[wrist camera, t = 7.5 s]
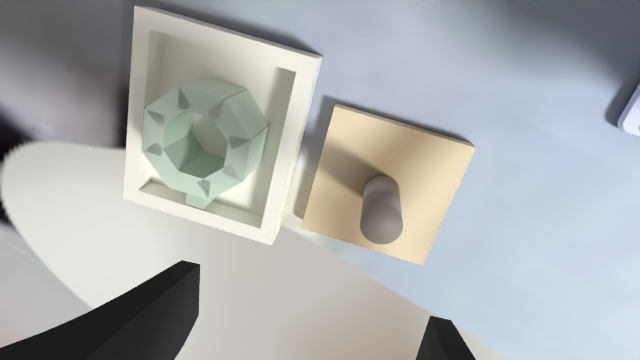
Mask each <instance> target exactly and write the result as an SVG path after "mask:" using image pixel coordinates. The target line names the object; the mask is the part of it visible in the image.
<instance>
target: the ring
mask: <svg viewBox="0 0 640 360" xmlns="http://www.w3.org/2000/svg"><path fill="white" fill-rule="evenodd" d="M195 113H197V114H200V115H203V116H207V117H210V118H212V119H213V120H214V122H215V123H216V125H217V126H218V128H219V129H220V131H221V132H222V134H223V135H224V137H225V138H226V140H227V142H228V146H227V152H226V158H222V157H219V156H216V155H213V154H209V153H206V152H205V151H204V149H203V148H202V146H201V145H200V144H199V142H198V141H197V139H196V138H195V136H194V135H193V133H192V129H193V122H194V114H195ZM268 130H269V123H268V121H267V120H266V118H265V116H264V115H263V113H262V111H261V110H260V108H259V106H258V105H257V103H256V102H255V100H254V98H253V97H252V95H251V93H250V92H249V90H248V89H247V88H244V87H241V86H237V85H234V84H230V83H227V82H224V81H220V80H217V79H213V78H210V77H207V78H204V79H200V80H196V81H193V82H189V83H186V84H182V85H178V86H177V87H175V88H174V89H172V90H171V91H169V92H168V93H166V94H165V95H163V96H162V97H160V98H159V99H158V100H156V101H155V102H153V103H152V104H150V105H149V106H147V107H146V109H144V122H143V136H142V149H141V150H143V151H142V152H143V154H144V155H145V156H146V158H147V159H148V161H149V162H150V163H151V165H152V166H153V168H154V169H155V170H156V172H157V173H158V174H159V176H160V177H161V179H162V180H163V181H164V183H165V184H166V186H167V187H168V186H169V188H171V189H174V190H178V191H181V192H184V193H187V195H186V203H185V204H189V205H192V206H195V207H198V208H201V209H204V208H205V207H206V206H207V205H208V204H209V203H210V202H211V201H212V200H213V199H214V198H215V197H216V196H217V195H219V194H221V193H223V192H225V191H227V190H229V189H230V188H232V187H234V186H236V185H238V184H240V183H242V182H243V181H244V180H245V179H246V178H247V177H248V175H249V174H250V173H251V172H252V171H253V170H254V169H255V168H256V167H257V166H258V165H259V163H260V162H261V161H262V158H263V153H264V149H265V144H266V139H267V134H268Z"/></svg>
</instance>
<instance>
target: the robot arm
mask: <svg viewBox="0 0 640 360" xmlns="http://www.w3.org/2000/svg"><path fill="white" fill-rule="evenodd" d="M617 124H618V128H619V129H620V130H621V131H623V132H625V133H627V134H631V135H634V136H638V137H640V130H639V126H640V83H639V85H638V87H637V89H636V90H635V92H634V94H633V95H632V97H631V99H630V100H629V102H628V104H627V106H626V107H625V109H624V111H623V112H622V114H621V116H620V117H619V120H618V122H617ZM199 283H200V264H196V263H191V262H186V261H180V262H178V263H176V264H174V265H173V266H171V267H169V268H167V269H166V270H164V271H162V272H161V273H159V274H157V275H156V276H154V277H152V278H151V279H149V280H147V281H145V282H144V283H142V284H140V285H138V286H137V287H135V288H133V289H131V290H130V291H128V292H126V293H124V294H123V295H121V296H119V297H117V298H115V299H113V300H111V301H109V302H107V303H105V304H103V305H101V306H100V307H97V308H95V309H93V310H92V311H90V312H88V313H86V314H83V315H81V316H79V317H77V318H75V319H73V320H70V321H68V322H66V323H64V324H61V325H59V326H57V327H54V328H52V329H50V330H47V331H45V332H42V333H40V334H37V335H34V336H32V337H29V338H26V339H24V340H21V341H18V342H15V343H13V344H10V345H7V346H4V347H2V348H0V360H174V359H175V358H176V356H177V355H178V353H179V351H180V350H181V348H182V347H183V345H184V343H185V341H186V339H187V337H188V335H189V334H190V332H191V330H192V327H193V326H194V323H195V321H196V319H197V317H198V313H199ZM416 360H476V359H475V358H474V356H473V354H472V353H471V351H470V350H469V348H468V347H467V345H466V343H465V342H464V340H463V338H462V337H461V335H460V334H459V332H458V330H457V329H456V327H455V326H454V324H453V323H452V321H451V320H447V319H443V318H438V317H434V316H430V318H429V322H428V324H427V327H426V331H425V334H424V336H423V339H422V342H421V345H420V348H419V351H418V354H417V357H416Z"/></svg>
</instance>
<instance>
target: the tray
mask: <svg viewBox="0 0 640 360" xmlns="http://www.w3.org/2000/svg"><path fill="white" fill-rule="evenodd" d="M323 57H324V56H321V55H317V54H314V53H310V52H307V51H304V50H300V49H297V48H293V47H290V46H286V45H283V44H279V43H276V42H272V41H269V40H266V39H262V38H259V37H255V36H252V35H248V34H245V33H241V32H238V31H235V30H231V29H228V28H224V27H221V26H217V25H214V24H210V23H207V22H203V21H200V20H197V19H193V18H190V17H186V16H183V15H179V14H176V13H172V12H169V11H166V10H162V9H159V8H153V7H142V6H134V21H133V38H132V55H131V72H130V90H129V107H128V124H127V141H126V159H125V177H124V192H123V193H124V194H123V199H125V200H128V201H131V202H134V203H138V204H141V205H144V206H147V207H150V208H154V209H157V210H160V211H163V212H167V213H170V214H173V215H176V216H179V217H182V218H186V219H189V220H192V221H195V222H199V223H202V224H205V225H208V226H212V227H214V228H218V229H221V230H224V231H227V232H230V233H233V234H237V235H240V236H243V237H246V238H249V239H253V240H256V241H259V242H263V243H265V244H269V245H272V244H273V242H274V240H275V238H276V236H277V234H278V232H279V230H280V227H281V223H282V219H283V215H284V211H285V207H286V203H287V199H288V195H289V191H290V187H291V183H292V179H293V175H294V171H295V168H296V164H297V160H298V156H299V152H300V148H301V144H302V140H303V136H304V132H305V128H306V124H307V120H308V116H309V112H310V108H311V104H312V100H313V96H314V92H315V88H316V84H317V81H318V77H319V73H320V69H321V65H322V61H323ZM207 77H210V78H213V79H217V80H220V81H224V82H227V83H230V84H234V85H237V86H241V87H244V88H247V89H248V90H249V92H250V93H251V95H252V97H253V98H254V100H255V102H256V103H257V105H258V106H259V108H260V110H261V111H262V113H263V115H264V116H265V118H266V120H267V121H268V123H269V130H268V134H267V139H266V144H265V149H264V153H263V158H262V161H261V162H260V163H259V165H258V166H257V167H256V168H255V169H254V170H253V171H252V172H251V173H250V174H249V175H248V177H247V178H246V179H245V180H244V181H243V182H242V183H240V184H238V185H236V186H234V187H232V188H230V189H229V190H227V191H225V192H223V193H221V194H219V195H217V196H216V197H215V198H214V199H213V200H212V201H211V202H210V203H209V204H208V205H207V206H206V207H205V208H204V209H201V208H198V207H195V206H192V205H189V204H185V203H186V195H187V193H184V192H181V191H178V190H174V189H171V188H169V186H168V187H167V186H166V184H165V183H164V181H163V180H162V179H161V177H160V176H159V174H158V173H157V172H156V170H155V169H154V168H153V166H152V165H151V163H150V162H149V161H148V159H147V158H146V156H145V155H144V154H143V152H142V151H143V150H141V149H142V136H143V122H144V109H146V107H147V106H149V105H150V104H152V103H153V102H155V101H156V100H158V99H159V98H160V97H162V96H163V95H165V94H166V93H168V92H169V91H171V90H172V89H174V88H175V87H177V86H178V85H182V84H186V83H189V82H193V81H196V80H200V79H204V78H207ZM192 133H193V135H194V136H195V138H196V139H197V141H198V142H199V144H200V145H201V146H202V148H203V149H204V151H205V152H206V153H209V154H213V155H216V156H219V157H222V158H226V152H227V146H228V142H227V140H226V138H225V137H224V135H223V134H222V132H221V131H220V129H219V128H218V126H217V125H216V123H215V122H214V120H213V119H212V118H210V117H207V116H203V115H200V114H197V113H195V114H194V122H193V129H192Z"/></svg>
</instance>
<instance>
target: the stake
mask: <svg viewBox="0 0 640 360" xmlns="http://www.w3.org/2000/svg"><path fill="white" fill-rule="evenodd" d="M474 151H475V146H474V145H473V144H472V143H469V142H466V141H462V140H459V139H456V138H452V137H449V136H446V135H442V134H439V133H435V132H432V131H429V130H425V129H422V128H418V127H415V126H412V125H408V124H405V123H401V122H398V121H395V120H391V119H388V118H384V117H381V116H378V115H374V114H371V113H367V112H364V111H361V110H357V109H354V108H350V107H347V106H344V105H340V104H337V103H336V105H335V106H334V110H333V113H332V117H331V121H330V124H329V128H328V131H327V135H326V139H325V142H324V146H323V149H322V153H321V157H320V160H319V164H318V167H317V171H316V175H315V178H314V182H313V185H312V189H311V193H310V196H309V200H308V203H307V207H306V211H305V214H304V218H303V221H302V225H301V228H303V229H307V230H310V231H313V232H316V233H319V234H323V235H326V236H329V237H332V238H336V239H339V240H342V241H345V242H348V243H352V244H355V245H358V246H361V247H365V248H368V249H371V250H374V251H377V252H381V253H384V254H387V255H390V256H394V257H397V258H400V259H403V260H407V261H410V262H413V263H416V264H419V265H423V264H424V262H425V260H426V258H427V255H428V253H429V251H430V249H431V247H432V244H433V242H434V240H435V238H436V235H437V233H438V231H439V229H440V226H441V224H442V222H443V220H444V218H445V215H446V213H447V211H448V209H449V206H450V204H451V202H452V200H453V197H454V195H455V193H456V191H457V189H458V186H459V184H460V182H461V180H462V177H463V175H464V173H465V171H466V168H467V166H468V164H469V162H470V160H471V157H472V155H473V153H474Z"/></svg>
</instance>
